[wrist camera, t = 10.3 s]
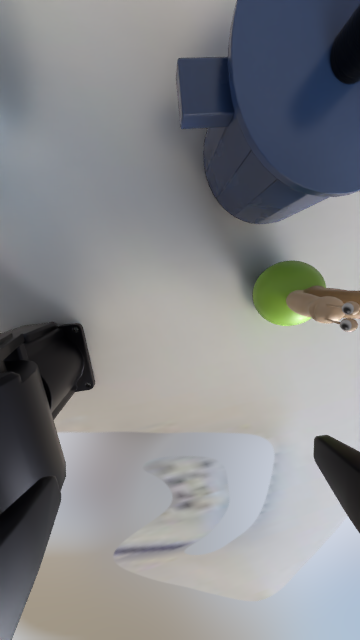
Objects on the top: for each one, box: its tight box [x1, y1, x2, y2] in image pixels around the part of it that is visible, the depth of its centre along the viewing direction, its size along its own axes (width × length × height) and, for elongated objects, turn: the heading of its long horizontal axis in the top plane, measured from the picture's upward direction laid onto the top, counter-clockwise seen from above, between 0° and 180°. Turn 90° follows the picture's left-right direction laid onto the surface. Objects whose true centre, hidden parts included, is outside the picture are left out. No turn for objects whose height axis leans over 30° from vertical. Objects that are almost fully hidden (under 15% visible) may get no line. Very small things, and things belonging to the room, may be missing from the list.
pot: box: [176, 57, 328, 224], centre depth 13 cm, size 11×16×7 cm, turn 96°
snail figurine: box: [253, 261, 360, 332], centre depth 14 cm, size 5×6×12 cm
